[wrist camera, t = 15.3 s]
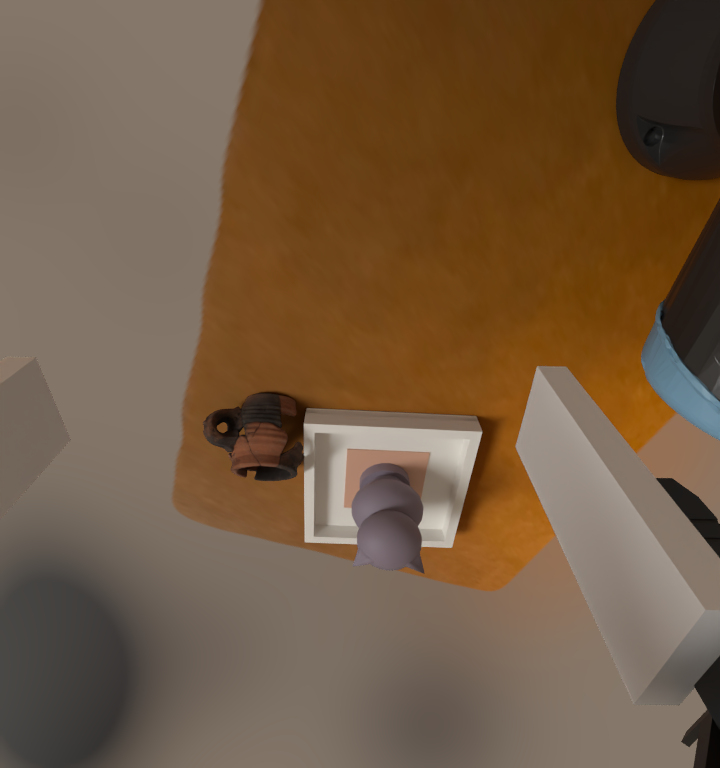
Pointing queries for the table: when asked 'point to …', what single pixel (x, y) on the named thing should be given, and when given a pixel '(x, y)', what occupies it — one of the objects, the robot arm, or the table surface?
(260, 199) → the table surface
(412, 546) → the cat figurine
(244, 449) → the pottery mug
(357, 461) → the tray
